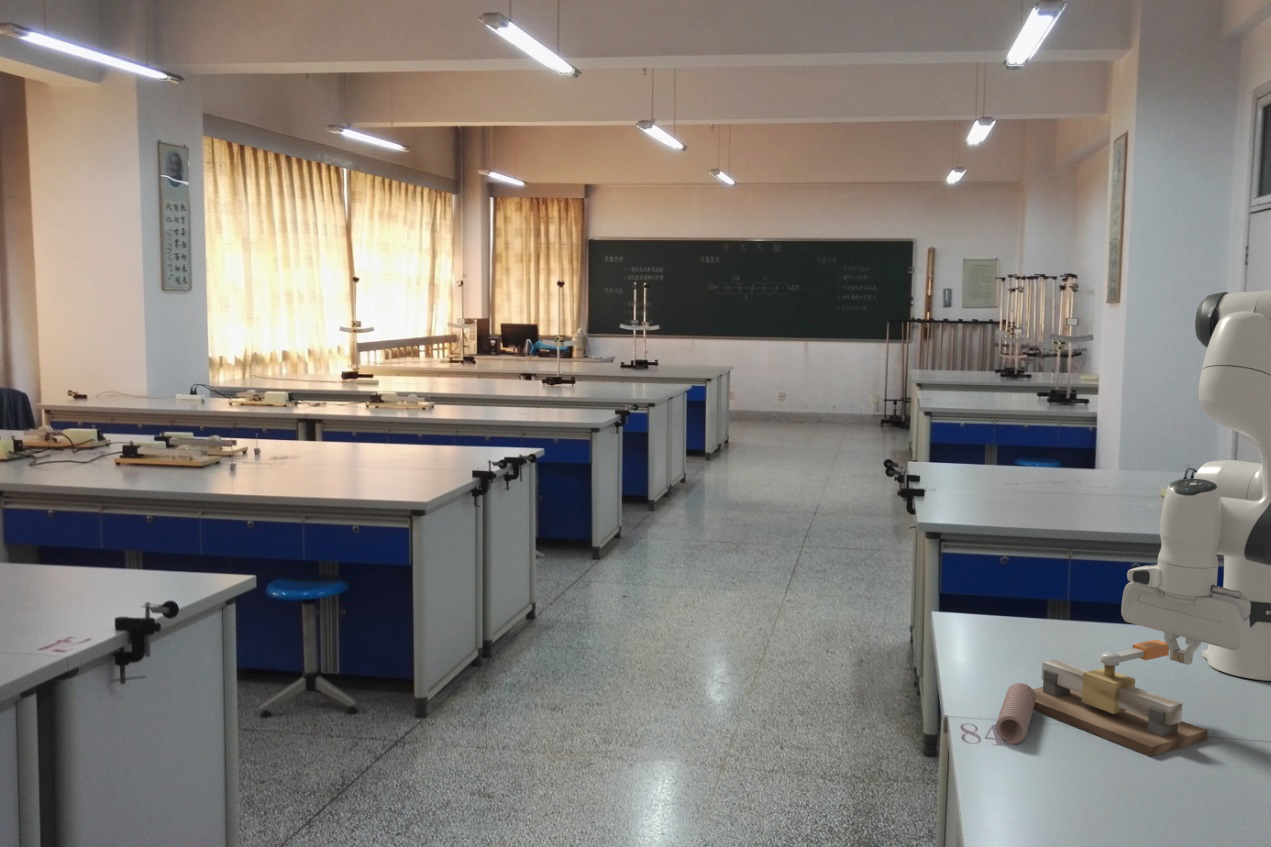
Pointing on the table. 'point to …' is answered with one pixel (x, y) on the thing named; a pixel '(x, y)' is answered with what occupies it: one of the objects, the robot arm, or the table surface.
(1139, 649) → the valve lever
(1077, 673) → the valve stand
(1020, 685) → the coil
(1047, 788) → the table surface
